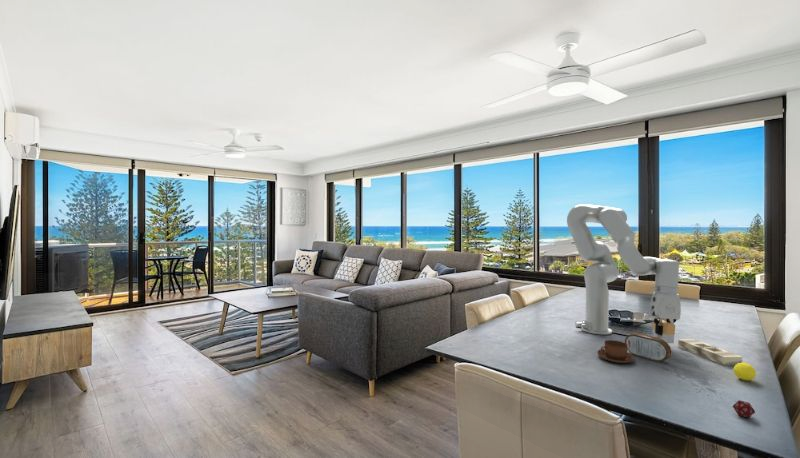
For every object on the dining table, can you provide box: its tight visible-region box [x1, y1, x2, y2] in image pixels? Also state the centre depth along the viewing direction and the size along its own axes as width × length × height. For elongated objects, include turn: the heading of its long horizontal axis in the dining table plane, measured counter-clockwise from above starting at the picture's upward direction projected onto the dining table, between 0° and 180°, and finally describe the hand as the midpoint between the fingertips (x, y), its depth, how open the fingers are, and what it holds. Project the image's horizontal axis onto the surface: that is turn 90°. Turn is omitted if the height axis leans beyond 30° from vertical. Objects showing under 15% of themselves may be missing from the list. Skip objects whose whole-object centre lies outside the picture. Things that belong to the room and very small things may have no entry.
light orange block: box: [651, 319, 676, 344], centre depth 153 cm, size 8×3×8 cm, turn 5°
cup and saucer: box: [597, 339, 636, 364], centre depth 139 cm, size 12×12×6 cm
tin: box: [624, 332, 672, 363], centre depth 141 cm, size 15×3×8 cm, turn 34°
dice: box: [732, 399, 756, 419], centre depth 98 cm, size 4×4×4 cm
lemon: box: [733, 362, 757, 381], centre depth 122 cm, size 7×5×5 cm
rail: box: [677, 338, 743, 366], centre depth 144 cm, size 20×7×3 cm, turn 5°
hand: (663, 334), depth 153 cm, fingers closed on light orange block, 3 cm apart
